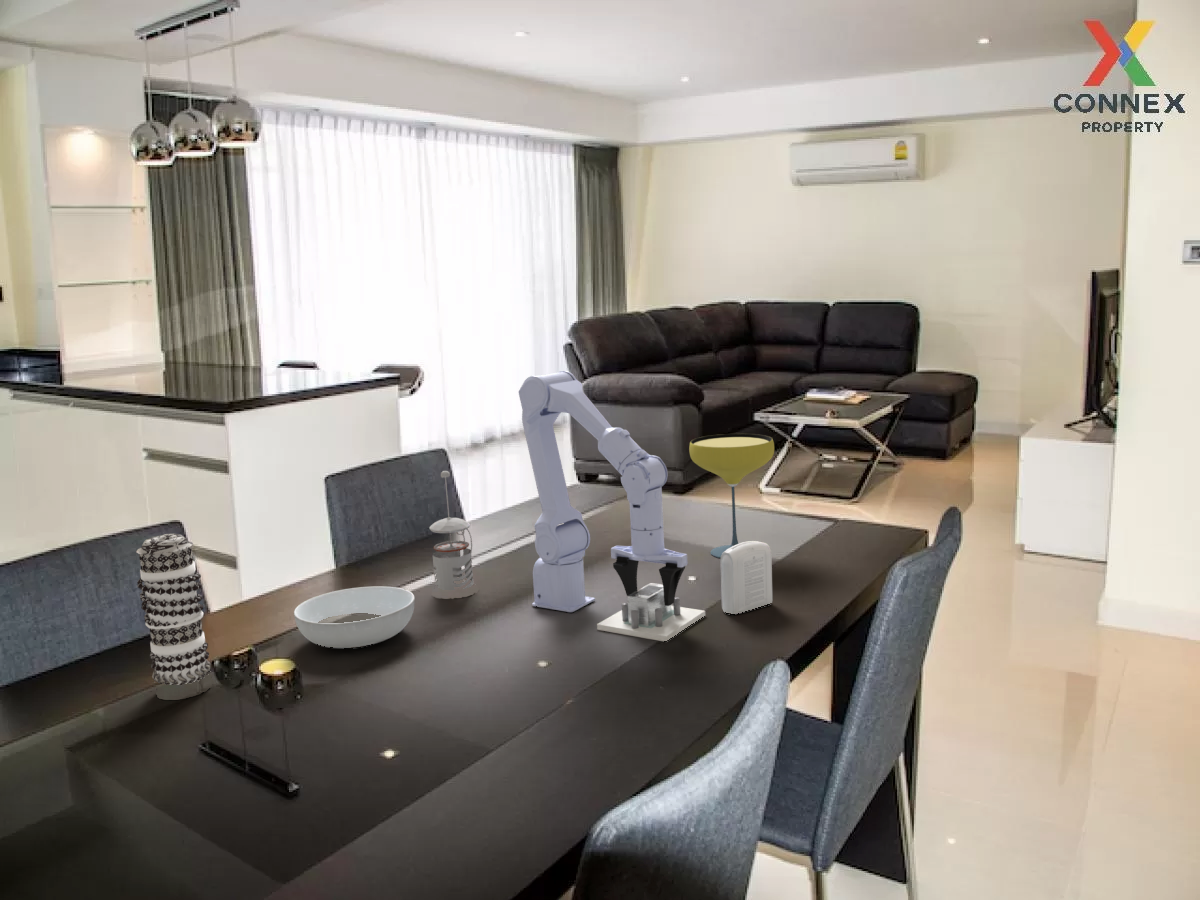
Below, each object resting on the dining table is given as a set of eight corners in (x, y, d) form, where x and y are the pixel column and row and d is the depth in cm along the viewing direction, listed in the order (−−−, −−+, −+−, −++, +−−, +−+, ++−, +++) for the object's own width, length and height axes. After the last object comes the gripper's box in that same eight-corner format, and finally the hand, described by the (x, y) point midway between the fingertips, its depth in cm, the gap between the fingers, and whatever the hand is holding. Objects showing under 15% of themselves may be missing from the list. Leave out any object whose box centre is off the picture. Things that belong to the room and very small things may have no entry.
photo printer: (760, 599, 183) (758, 535, 181) (776, 604, 180) (774, 539, 178) (718, 611, 178) (715, 545, 176) (733, 617, 174) (731, 550, 172)
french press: (421, 597, 196) (410, 475, 192) (451, 580, 207) (441, 463, 203) (464, 601, 192) (453, 476, 188) (492, 583, 203) (483, 464, 199)
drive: (628, 623, 171) (627, 595, 171) (652, 609, 178) (650, 582, 177) (648, 626, 169) (647, 598, 168) (671, 612, 176) (670, 585, 175)
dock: (597, 629, 172) (596, 607, 172) (638, 605, 184) (637, 585, 183) (666, 641, 165) (665, 619, 164) (705, 616, 176) (704, 594, 175)
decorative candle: (154, 707, 150) (132, 549, 146) (151, 686, 158) (129, 536, 154) (218, 693, 154) (198, 538, 150) (211, 673, 162) (192, 527, 158)
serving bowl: (440, 625, 179) (437, 589, 178) (368, 668, 161) (364, 628, 160) (350, 615, 188) (346, 580, 187) (271, 654, 170) (267, 616, 168)
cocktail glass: (789, 546, 218) (786, 434, 213) (756, 568, 203) (753, 449, 198) (715, 538, 227) (711, 432, 223) (679, 559, 212) (674, 445, 208)
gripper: (599, 528, 172) (604, 602, 174) (671, 536, 164) (675, 613, 166) (621, 519, 178) (625, 590, 180) (692, 526, 170) (695, 601, 172)
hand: (650, 601), depth 174 cm, fingers open, 7 cm apart
